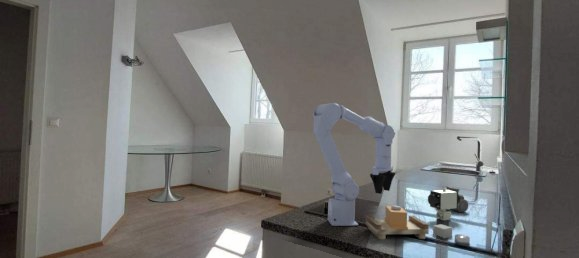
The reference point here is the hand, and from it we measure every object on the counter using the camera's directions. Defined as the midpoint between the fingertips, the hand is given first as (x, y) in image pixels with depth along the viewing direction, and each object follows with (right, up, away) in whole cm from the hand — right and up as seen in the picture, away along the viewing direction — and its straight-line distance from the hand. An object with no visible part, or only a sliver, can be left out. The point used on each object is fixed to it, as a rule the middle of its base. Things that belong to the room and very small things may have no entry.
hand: (382, 191), depth 119 cm
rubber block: (+14, -11, -17) cm, 25 cm away
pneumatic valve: (+24, -11, +2) cm, 26 cm away
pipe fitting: (+36, -12, +17) cm, 41 cm away
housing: (-1, -7, -16) cm, 18 cm away
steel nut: (+17, -11, -24) cm, 31 cm away
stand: (-1, -10, -17) cm, 20 cm away
